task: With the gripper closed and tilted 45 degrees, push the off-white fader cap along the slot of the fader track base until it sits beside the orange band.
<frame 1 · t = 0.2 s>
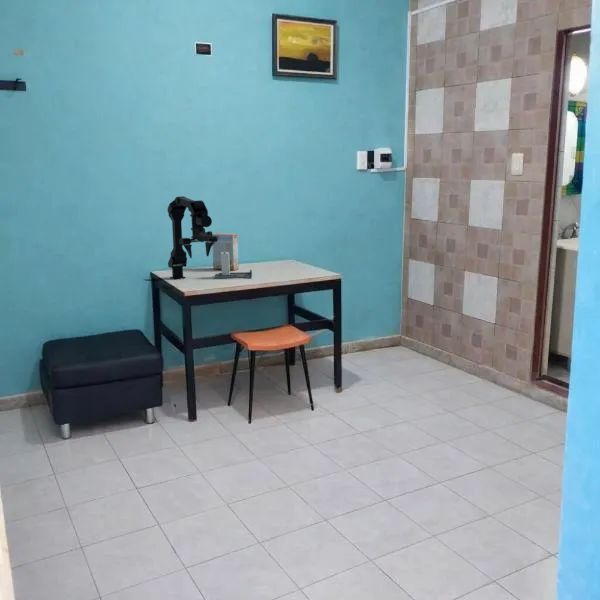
hand: (199, 257, 326), 15 cm above the table, tool pointing down, fingers open, 9 cm apart
fader cap: (225, 263, 351), point 8 cm above the table, slide at 0.0 cm
fader track base: (226, 277, 353), on the table
cracker box: (226, 269, 378), on the table
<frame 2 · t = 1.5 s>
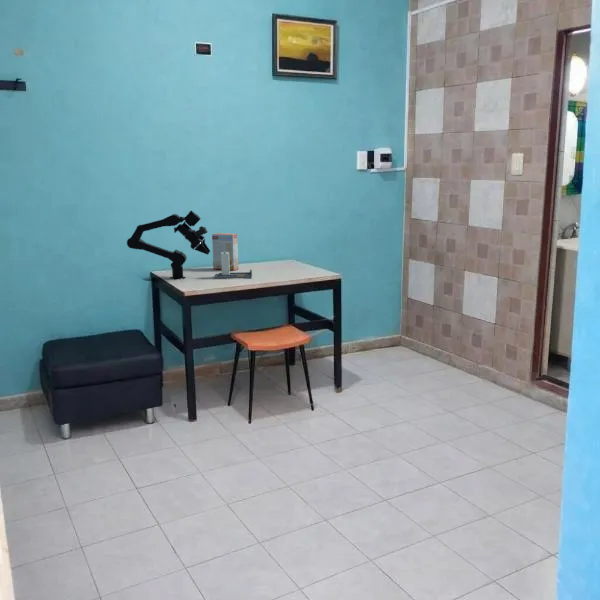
hand: (209, 252, 349), 13 cm above the table, tool tilted 45°, fingers open, 7 cm apart
nothing on the table moved.
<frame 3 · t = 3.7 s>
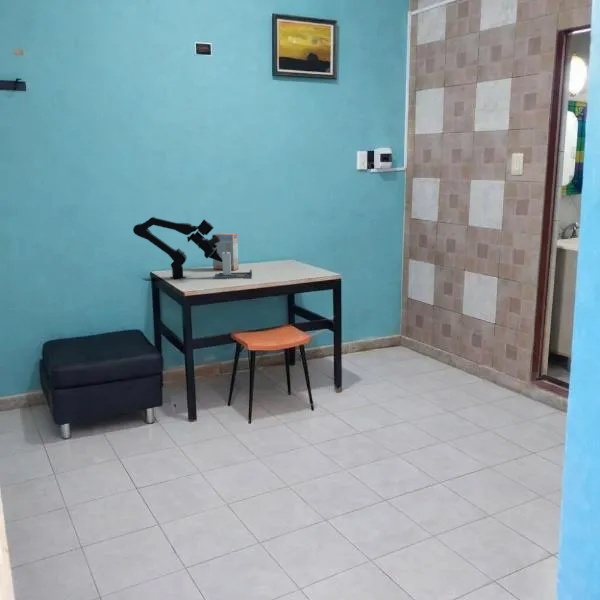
hand: (222, 261, 351), 9 cm above the table, tool tilted 45°, fingers closed, pressing on fader cap
fader cap: (226, 263, 351), point 8 cm above the table, slide at 0.6 cm, touching gripper
everything else where it was.
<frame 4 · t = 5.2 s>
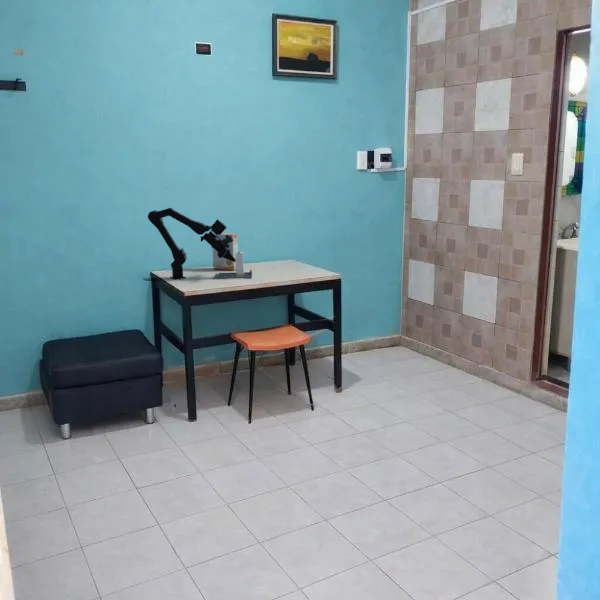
hand: (235, 261, 351), 9 cm above the table, tool tilted 45°, fingers closed, pressing on fader cap
fader cap: (239, 263, 352), point 8 cm above the table, slide at 7.7 cm, touching gripper
everything else where it was.
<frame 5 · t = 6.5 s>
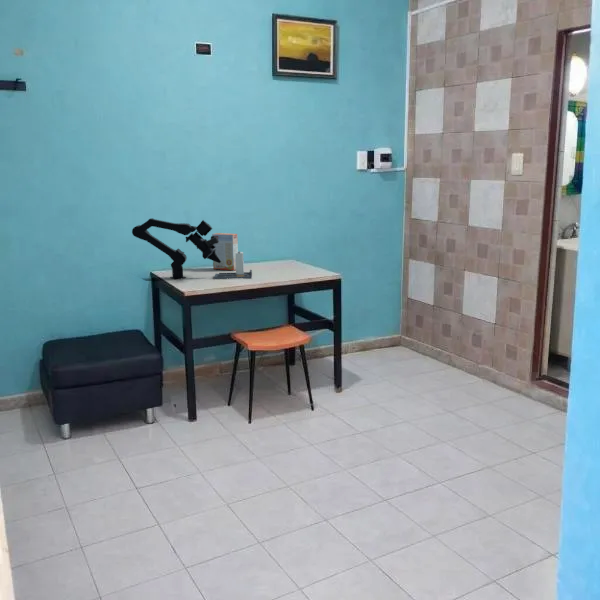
hand: (220, 262, 351), 8 cm above the table, tool tilted 45°, fingers closed
fader cap: (239, 263, 352), point 8 cm above the table, slide at 7.7 cm
everything else where it was.
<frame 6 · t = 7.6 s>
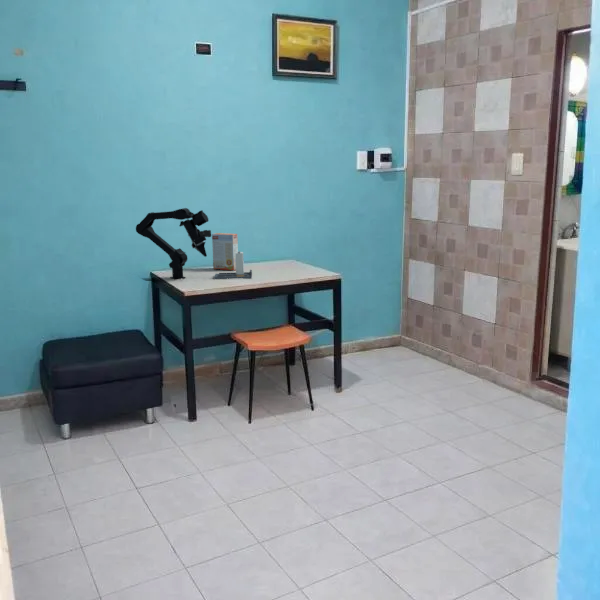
hand: (205, 256, 345), 12 cm above the table, tool tilted 25°, fingers closed
nothing on the table moved.
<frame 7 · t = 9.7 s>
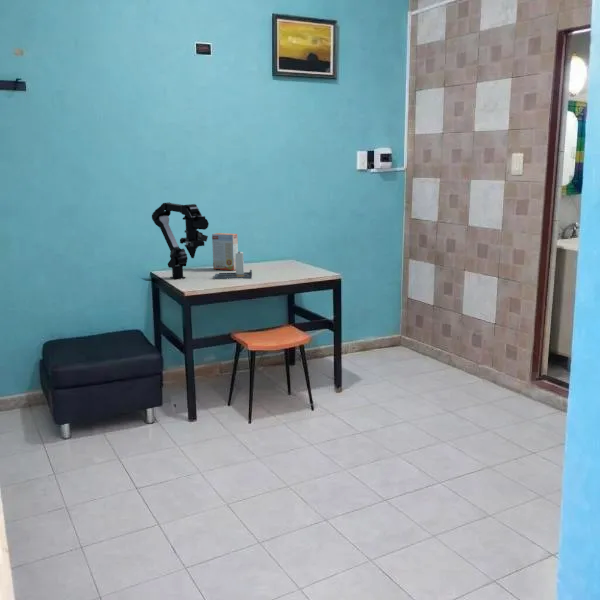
hand: (192, 258, 341), 12 cm above the table, tool pointing down, fingers closed
nothing on the table moved.
at the end: fader cap slide at 7.7 cm; fader cap touching nothing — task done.
